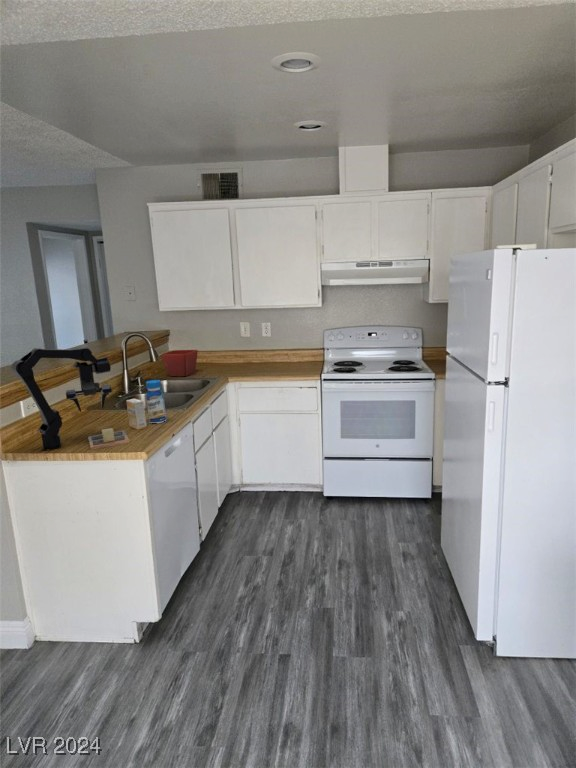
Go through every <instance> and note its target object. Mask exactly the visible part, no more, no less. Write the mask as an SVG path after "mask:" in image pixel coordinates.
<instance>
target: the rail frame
mask: <svg viewBox="0 0 576 768" xmlns="http://www.w3.org/2000/svg"><path fill="white" fill-rule="evenodd" d="M87 437H88V438H87V439H88V443H89V447H90V450H91V451H92V450H98V449H103V448H108V447H113V446H114V447H115V446H119V444H120V445H125V444H130V443H129V442H130V439H129V437H128V435H127V433H126V431H125V430H124V429H123V430H118V431H114V438H115V442H111V443H106V444H104V443H103V436H102V433H101V434H95V435H90V436H87ZM116 440H117V441H116ZM124 443H125V444H124ZM95 444H96V445H95Z"/></svg>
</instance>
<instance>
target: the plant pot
mask: <svg viewBox="0 0 576 768" xmlns="http://www.w3.org/2000/svg"><path fill="white" fill-rule="evenodd" d="M160 355H161V359H162V362H163V364H164V367H165V369H166V372H167V373H168V375H169V377H170V376H186V377H189V376H191V375H193V374H195V371H196V365H197V362H198V349H181V350H180V349H179V350H177V349H175V350H172V351H168V352H164V353H162V354H160ZM188 375H189V376H188Z"/></svg>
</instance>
